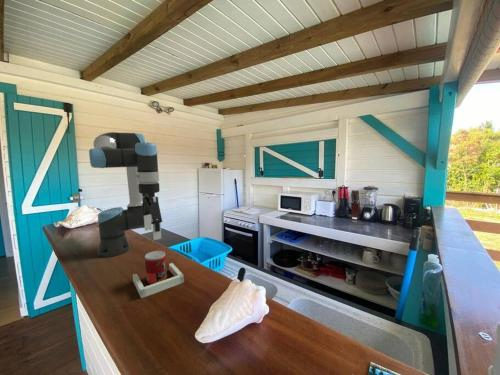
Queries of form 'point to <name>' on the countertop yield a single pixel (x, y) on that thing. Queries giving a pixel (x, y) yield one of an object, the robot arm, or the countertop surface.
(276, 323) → the countertop surface
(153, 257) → the canned food
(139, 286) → the bay
